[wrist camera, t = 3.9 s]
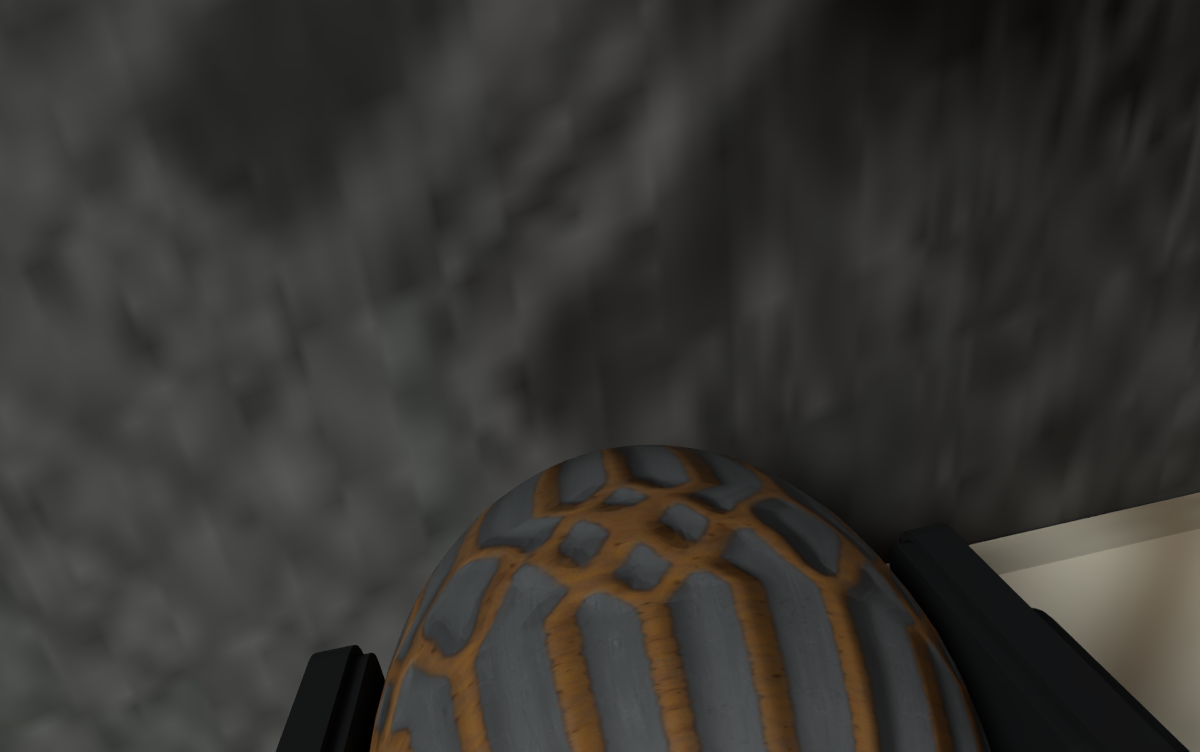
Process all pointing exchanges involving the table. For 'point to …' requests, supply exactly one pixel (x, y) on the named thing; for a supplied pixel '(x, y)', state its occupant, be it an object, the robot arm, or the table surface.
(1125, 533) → the birch pad
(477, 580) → the vase
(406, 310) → the table surface
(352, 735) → the robot arm
